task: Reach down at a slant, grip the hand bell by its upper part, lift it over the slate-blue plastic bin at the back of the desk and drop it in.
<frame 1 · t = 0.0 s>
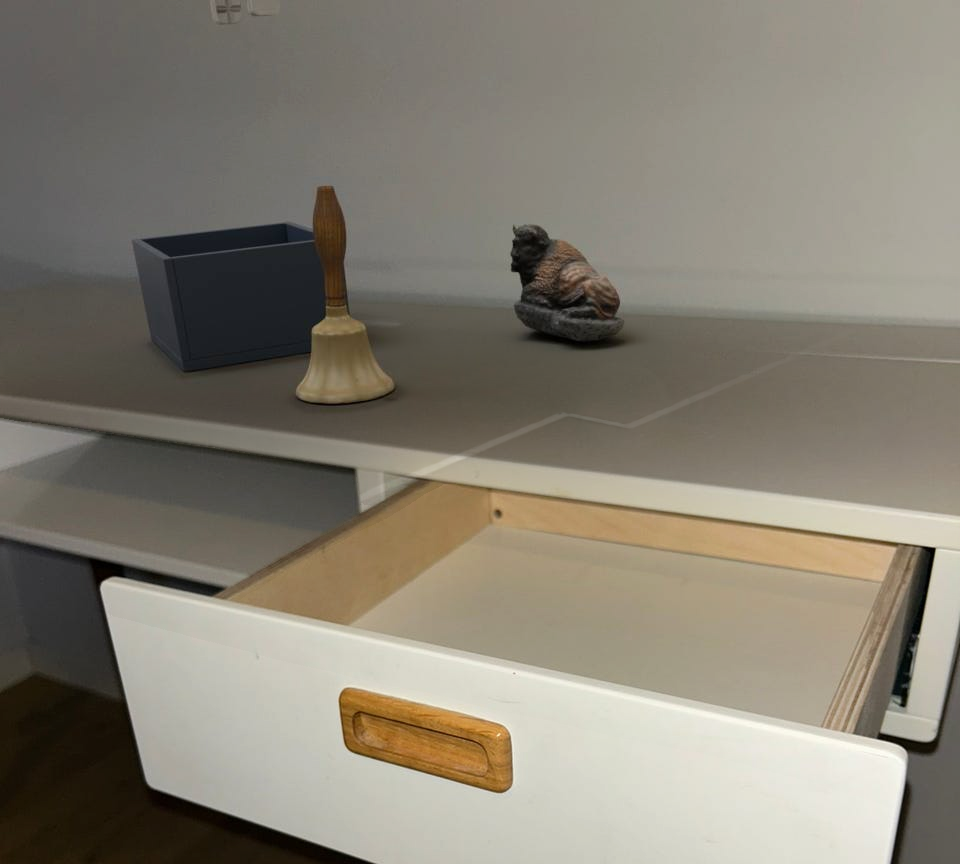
hand: (245, 20, 72), 27 cm above the table, tool pointing down, fingers open, 8 cm apart
bison figurine: (564, 340, 103), on the table
bin: (248, 342, 108), on the table
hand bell: (345, 393, 90), on the table
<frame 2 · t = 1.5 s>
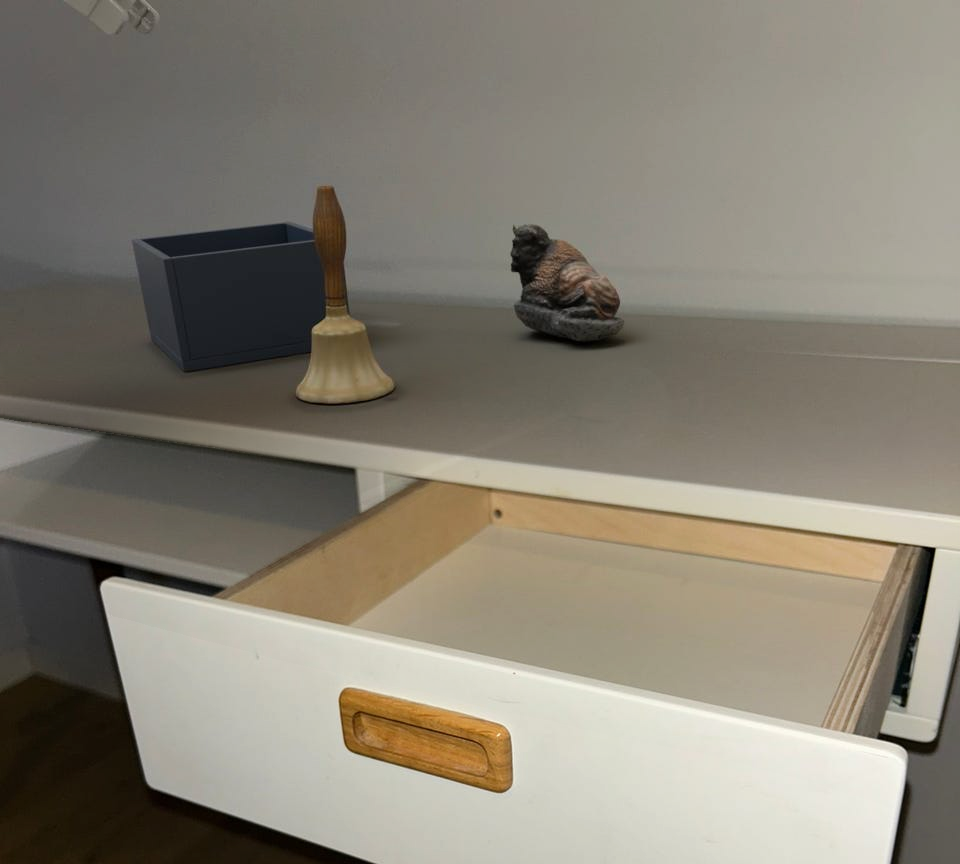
hand: (138, 27, 76), 27 cm above the table, tool tilted 45°, fingers open, 8 cm apart
nothing on the table moved.
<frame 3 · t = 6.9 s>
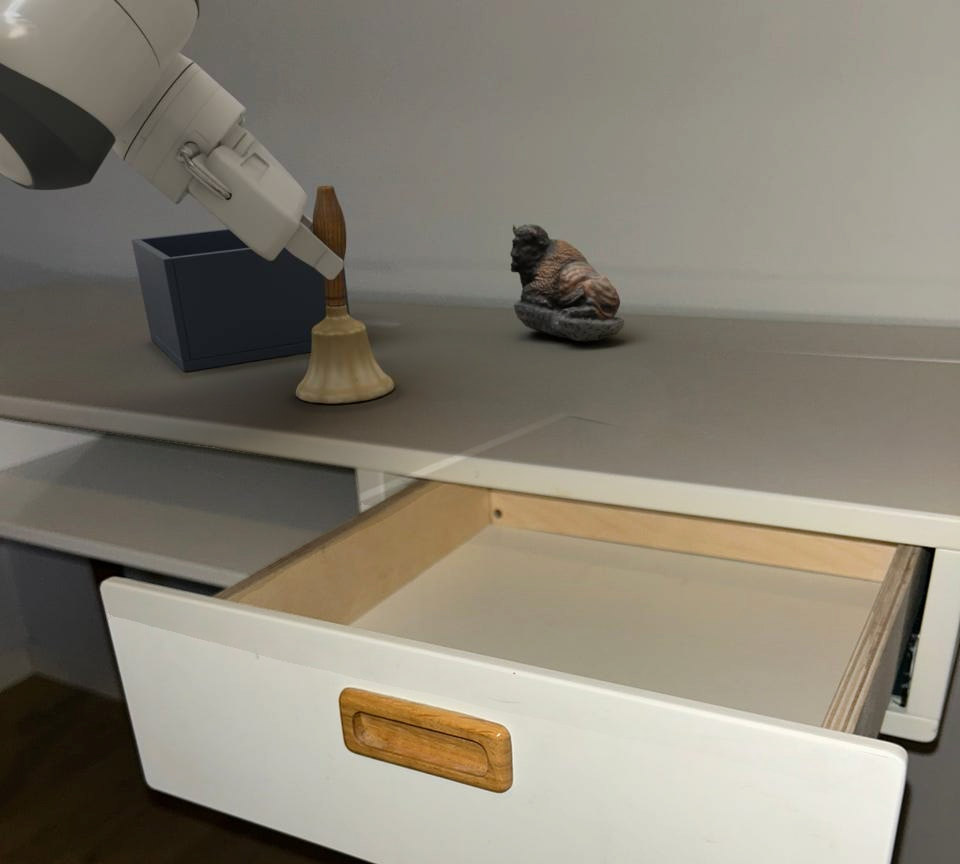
hand: (339, 268, 85), 10 cm above the table, tool tilted 45°, fingers closed on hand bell, 2 cm apart
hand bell: (345, 393, 90), on the table, touching gripper
everything else where it was.
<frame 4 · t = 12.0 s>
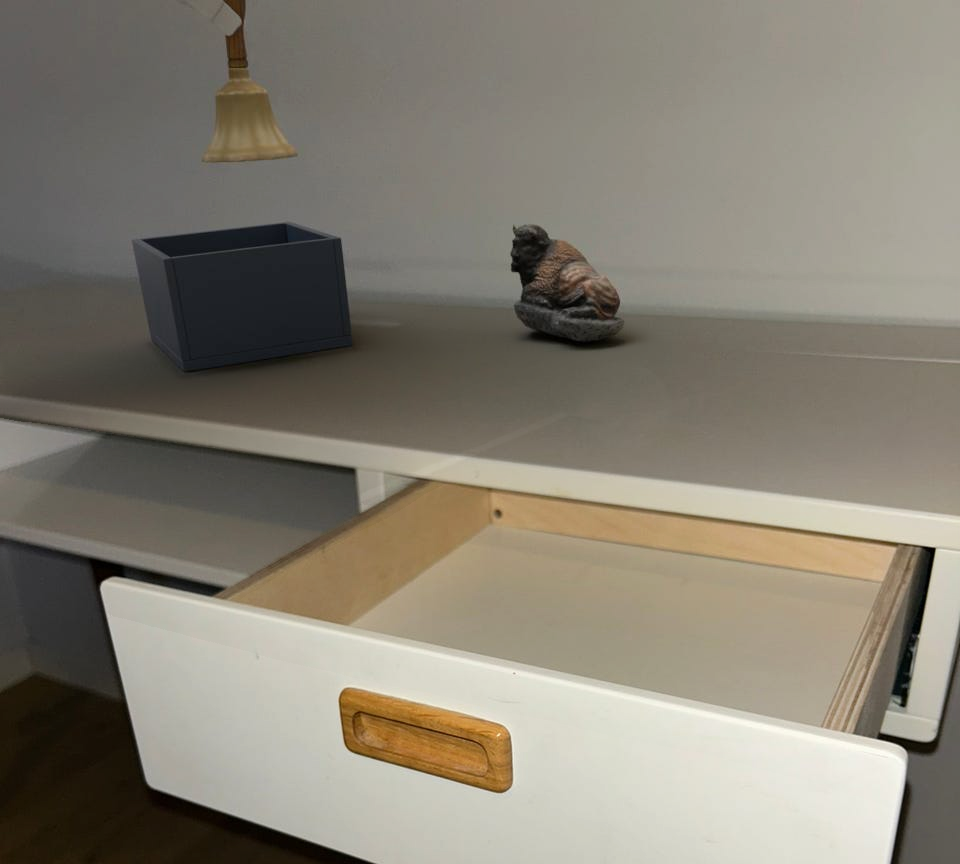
hand: (239, 30, 89), 27 cm above the table, tool tilted 45°, fingers closed on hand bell, 2 cm apart
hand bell: (250, 161, 94), point 17 cm above the table, touching gripper
everything else where it was.
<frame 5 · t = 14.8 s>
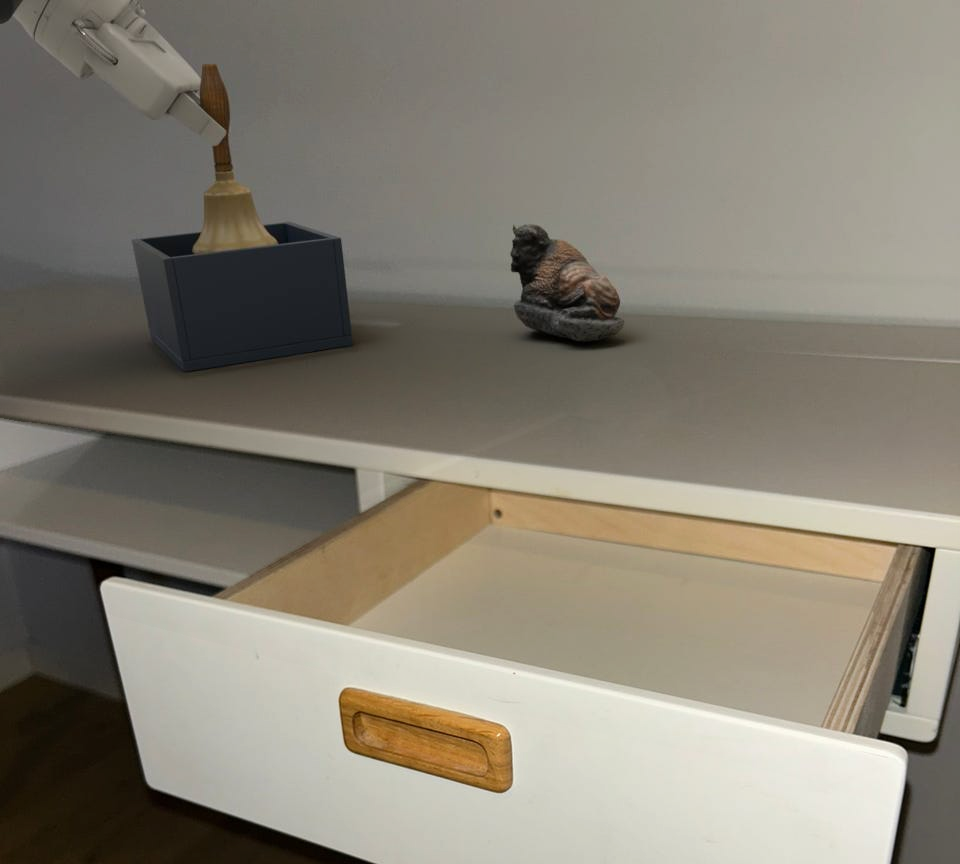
hand: (224, 138, 100), 19 cm above the table, tool tilted 45°, fingers closed on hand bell, 2 cm apart
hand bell: (236, 251, 104), point 9 cm above the table, touching gripper
everything else where it was.
when the fingers open (11 cm above the table, at t = 17.0 s): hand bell stays where it is, resting on bin.
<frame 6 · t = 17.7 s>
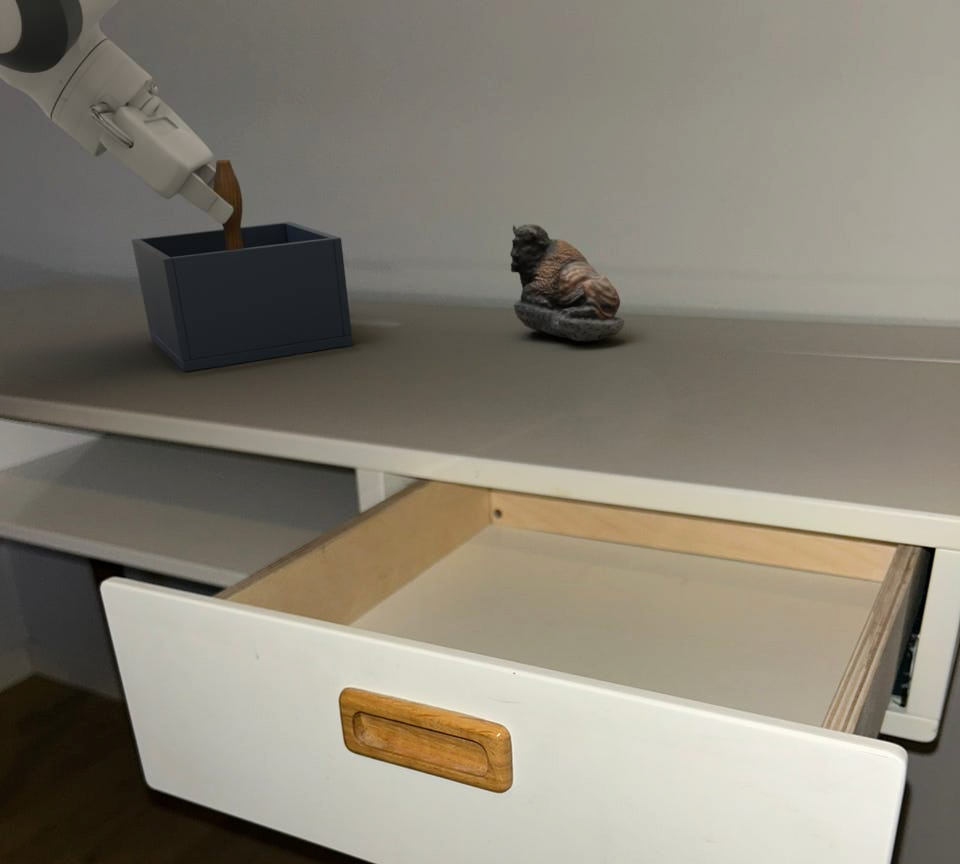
hand: (234, 211, 103), 12 cm above the table, tool tilted 45°, fingers open, 8 cm apart
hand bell: (247, 334, 108), point 1 cm above the table, touching bin
everything else where it was.
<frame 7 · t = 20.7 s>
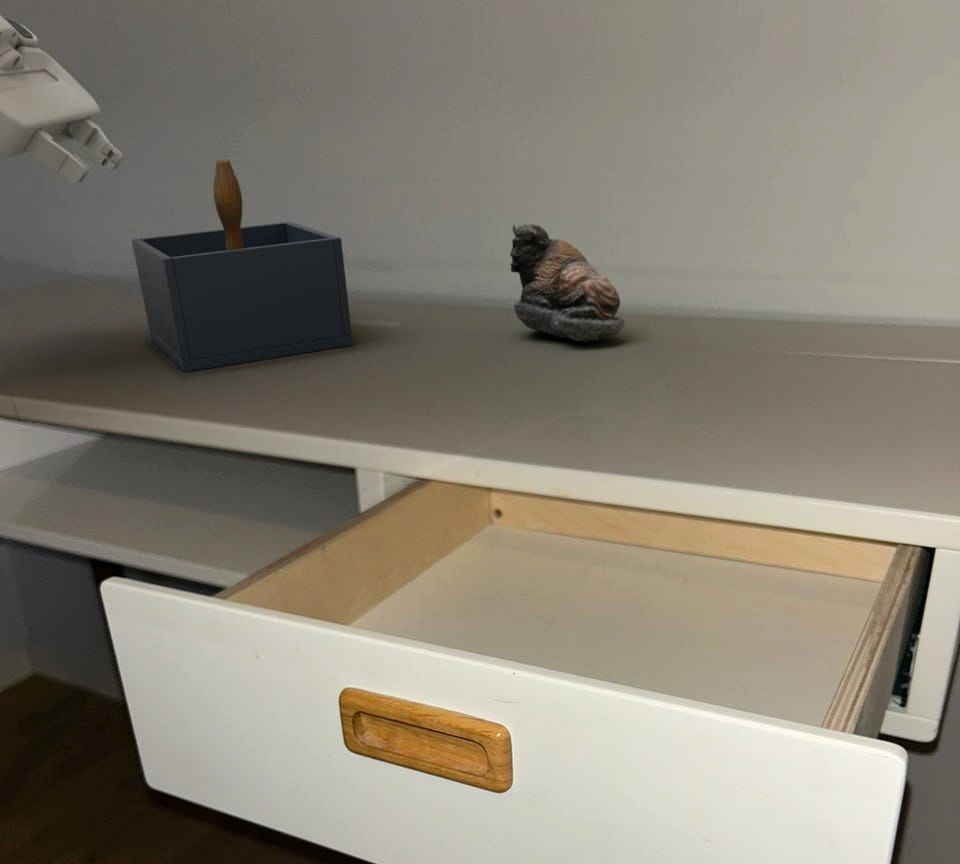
hand: (101, 170, 99), 17 cm above the table, tool tilted 45°, fingers open, 8 cm apart
nothing on the table moved.
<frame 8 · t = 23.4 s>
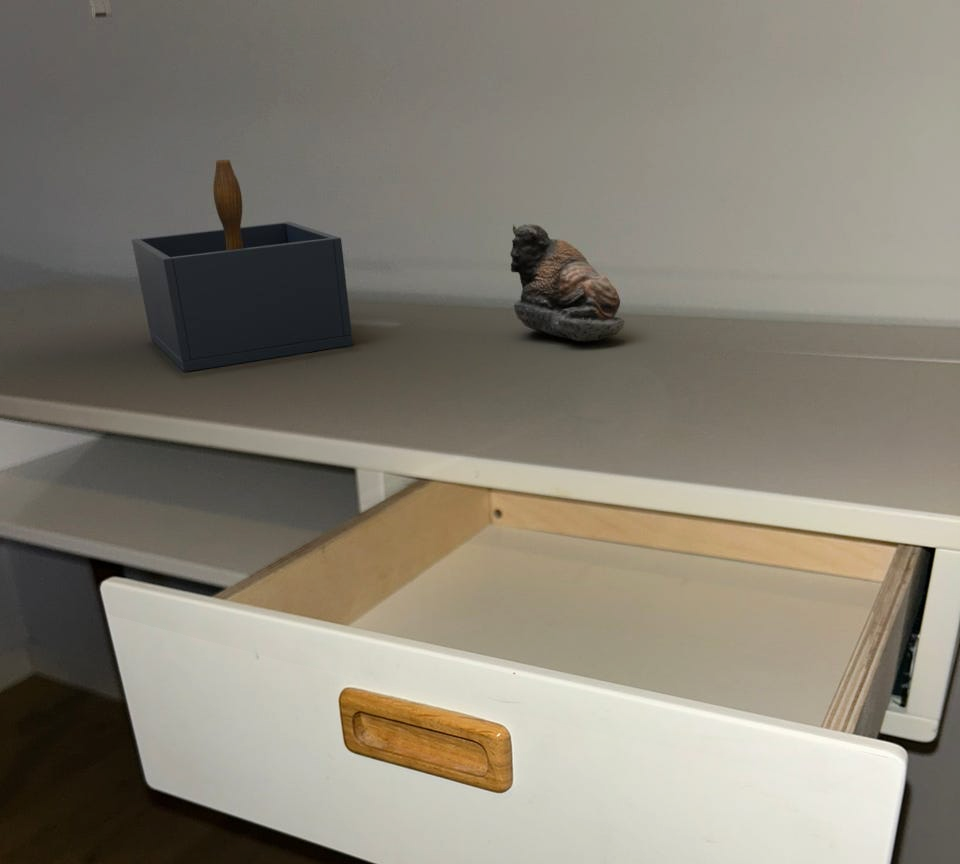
hand: (47, 19, 94), 29 cm above the table, tool pointing down, fingers open, 8 cm apart
nothing on the table moved.
at the end: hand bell inside the target area in the bin (0.1 cm from its centre), point 0.8 cm above the bin's base; the gripper is holding nothing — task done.
